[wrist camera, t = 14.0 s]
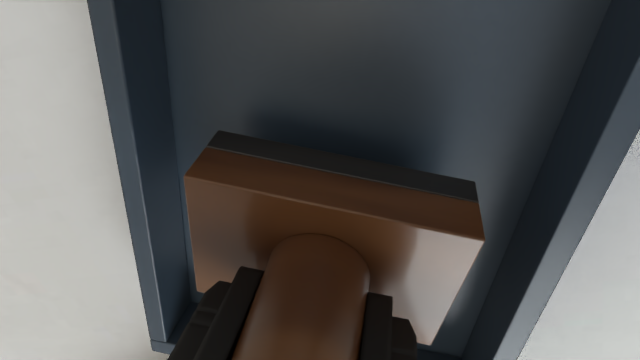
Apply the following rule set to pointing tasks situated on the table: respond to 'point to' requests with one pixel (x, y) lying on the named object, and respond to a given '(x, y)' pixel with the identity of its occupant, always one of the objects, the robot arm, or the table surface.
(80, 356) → the table surface
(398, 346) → the robot arm
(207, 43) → the tray
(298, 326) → the rubber stamp
